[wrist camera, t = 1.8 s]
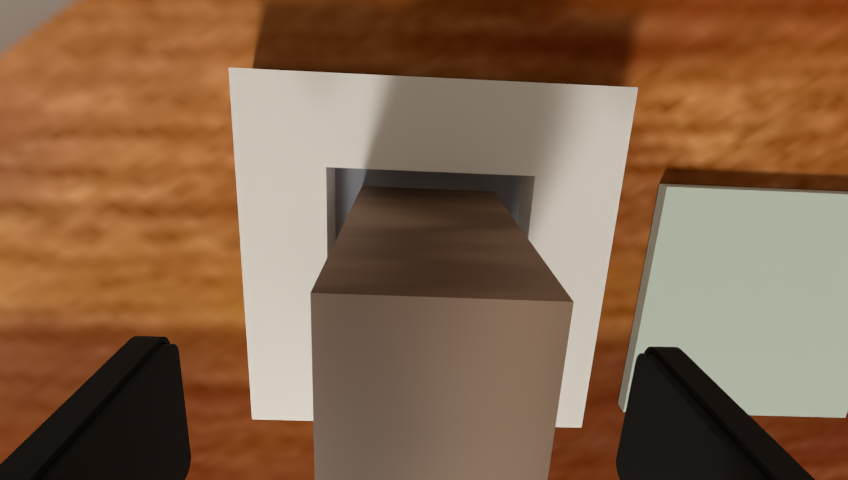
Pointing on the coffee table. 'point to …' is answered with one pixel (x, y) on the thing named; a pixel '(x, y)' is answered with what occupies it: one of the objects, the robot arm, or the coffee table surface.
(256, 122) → the pocket plate
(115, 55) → the coffee table surface
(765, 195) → the green mat
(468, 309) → the walnut block
